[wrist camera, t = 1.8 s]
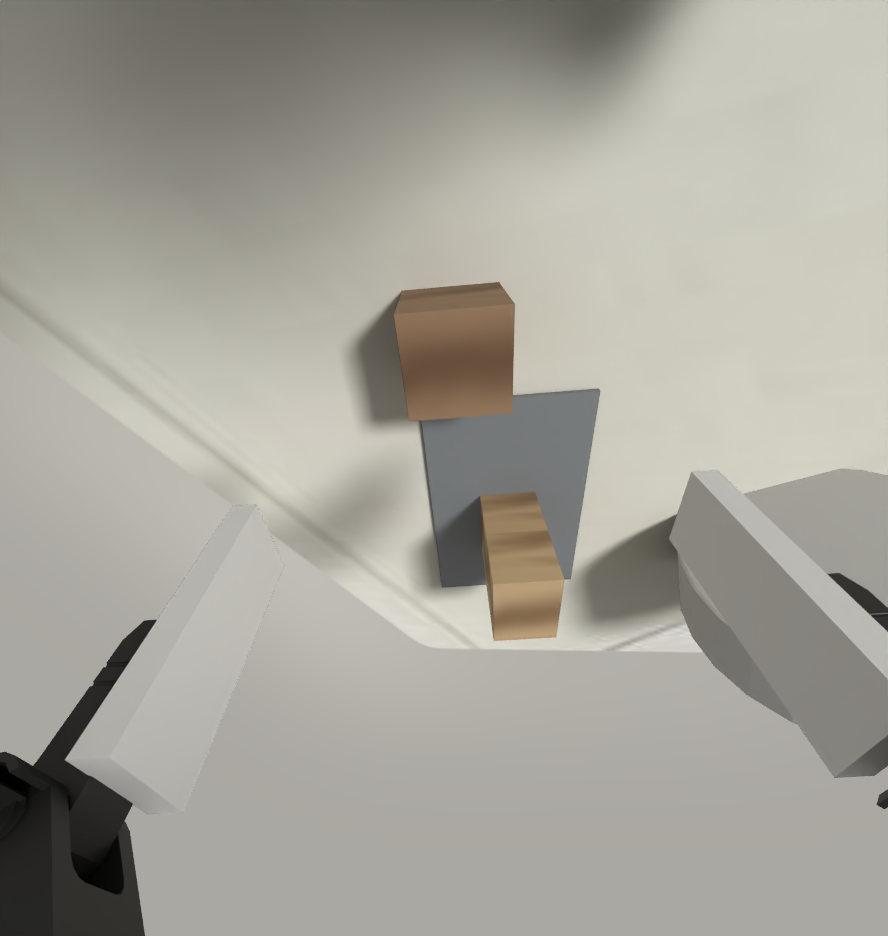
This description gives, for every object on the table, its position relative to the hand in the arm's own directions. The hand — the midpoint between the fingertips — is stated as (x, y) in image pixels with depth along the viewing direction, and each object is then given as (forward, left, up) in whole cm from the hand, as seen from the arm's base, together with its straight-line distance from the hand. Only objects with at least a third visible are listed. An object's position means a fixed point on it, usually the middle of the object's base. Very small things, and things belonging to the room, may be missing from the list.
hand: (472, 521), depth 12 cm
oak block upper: (+18, +4, -14) cm, 23 cm away
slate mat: (+16, +4, -19) cm, 25 cm away
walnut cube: (0, 0, -19) cm, 19 cm away
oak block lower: (+18, +4, -19) cm, 26 cm away
